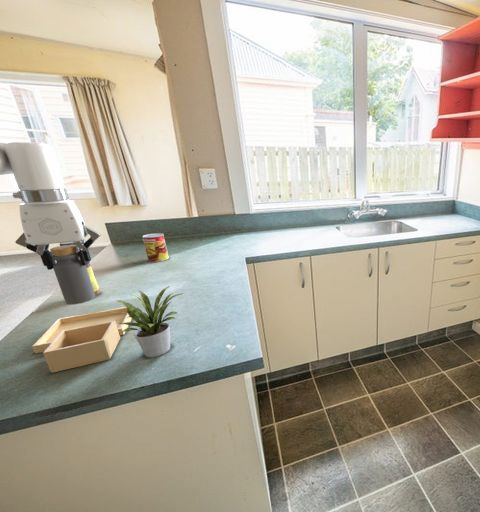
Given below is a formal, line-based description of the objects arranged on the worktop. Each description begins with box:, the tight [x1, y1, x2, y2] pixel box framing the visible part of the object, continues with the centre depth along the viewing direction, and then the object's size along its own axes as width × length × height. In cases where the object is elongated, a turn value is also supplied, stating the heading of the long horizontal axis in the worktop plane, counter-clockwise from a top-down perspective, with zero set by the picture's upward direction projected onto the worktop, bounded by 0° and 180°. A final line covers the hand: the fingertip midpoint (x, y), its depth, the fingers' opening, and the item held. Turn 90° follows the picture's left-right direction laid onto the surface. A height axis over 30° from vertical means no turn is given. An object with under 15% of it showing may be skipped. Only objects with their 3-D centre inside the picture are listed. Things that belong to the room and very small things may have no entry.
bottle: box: [49, 245, 96, 305], centre depth 78 cm, size 6×6×15 cm
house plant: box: [111, 285, 185, 358], centre depth 73 cm, size 14×14×16 cm
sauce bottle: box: [59, 242, 101, 297], centre depth 101 cm, size 6×6×20 cm
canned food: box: [142, 232, 170, 263], centre depth 140 cm, size 8×8×12 cm
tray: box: [31, 306, 133, 355], centre depth 83 cm, size 17×15×2 cm
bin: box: [42, 321, 121, 374], centre depth 73 cm, size 10×10×5 cm
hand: (69, 265), depth 78 cm, fingers closed on bottle, 5 cm apart
